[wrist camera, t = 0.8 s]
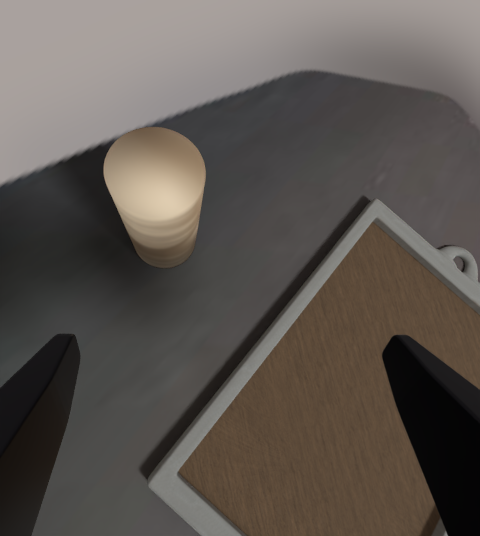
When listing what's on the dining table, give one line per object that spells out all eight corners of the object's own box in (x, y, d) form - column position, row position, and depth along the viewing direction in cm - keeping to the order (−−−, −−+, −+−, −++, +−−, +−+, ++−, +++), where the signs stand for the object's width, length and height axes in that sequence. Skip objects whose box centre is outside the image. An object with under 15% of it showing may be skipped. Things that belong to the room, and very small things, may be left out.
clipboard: (144, 485, 20) (392, 176, 29) (146, 475, 21) (381, 185, 30) (382, 704, 19) (559, 322, 28) (367, 678, 21) (539, 323, 30)
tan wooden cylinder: (173, 280, 24) (170, 235, 14) (120, 246, 24) (81, 179, 14) (206, 231, 25) (223, 161, 16) (156, 199, 25) (143, 110, 16)
